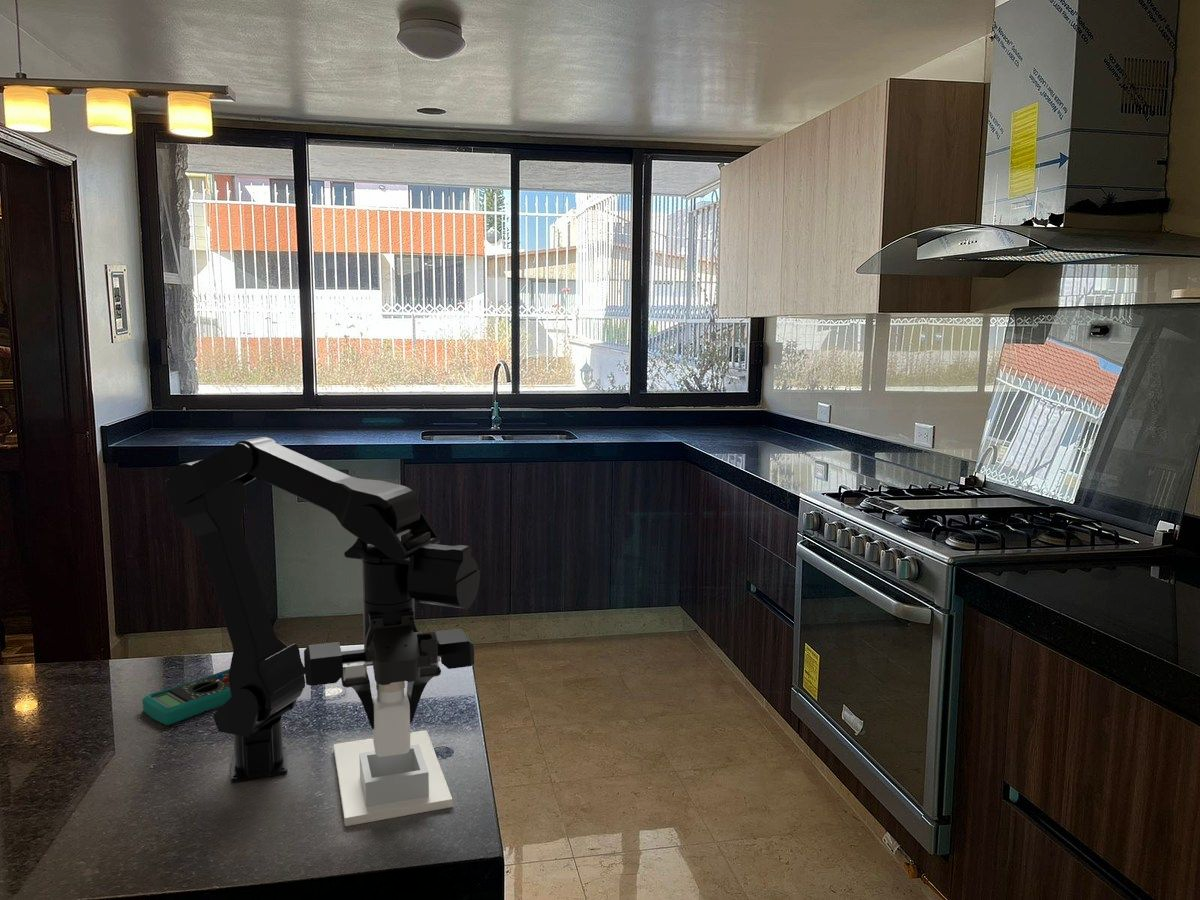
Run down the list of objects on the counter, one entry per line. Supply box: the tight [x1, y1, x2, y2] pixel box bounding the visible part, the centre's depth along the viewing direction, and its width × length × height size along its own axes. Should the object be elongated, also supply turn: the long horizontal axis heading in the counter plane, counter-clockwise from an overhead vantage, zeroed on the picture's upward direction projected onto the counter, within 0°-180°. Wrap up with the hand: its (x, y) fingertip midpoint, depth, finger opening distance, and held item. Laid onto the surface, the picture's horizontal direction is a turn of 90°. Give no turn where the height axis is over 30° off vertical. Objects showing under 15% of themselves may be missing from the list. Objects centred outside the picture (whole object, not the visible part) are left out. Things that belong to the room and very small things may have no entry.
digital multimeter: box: [141, 668, 231, 726], centre depth 130 cm, size 7×15×3 cm, turn 141°
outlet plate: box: [333, 729, 454, 827], centre depth 109 cm, size 18×12×4 cm, turn 20°
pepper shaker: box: [372, 681, 411, 757], centre depth 104 cm, size 4×4×10 cm
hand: (391, 725), depth 104 cm, fingers closed on pepper shaker, 4 cm apart
